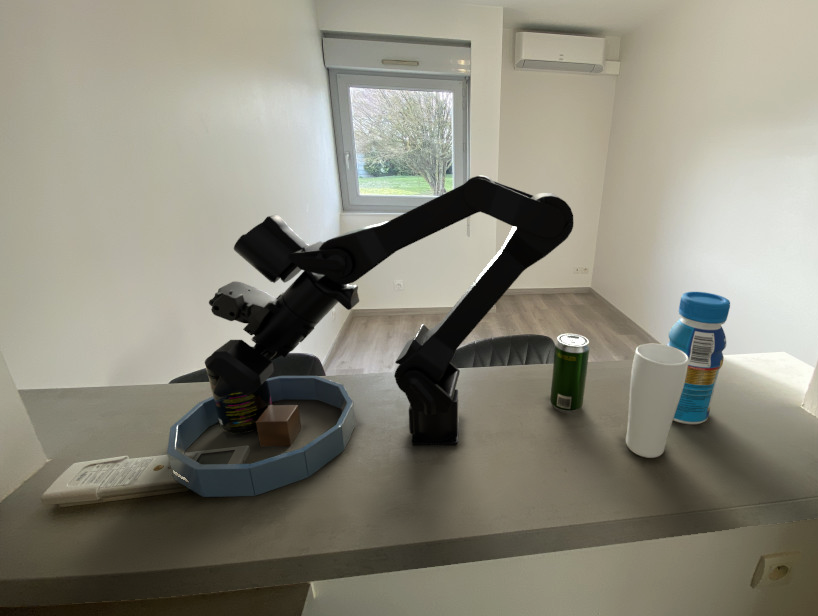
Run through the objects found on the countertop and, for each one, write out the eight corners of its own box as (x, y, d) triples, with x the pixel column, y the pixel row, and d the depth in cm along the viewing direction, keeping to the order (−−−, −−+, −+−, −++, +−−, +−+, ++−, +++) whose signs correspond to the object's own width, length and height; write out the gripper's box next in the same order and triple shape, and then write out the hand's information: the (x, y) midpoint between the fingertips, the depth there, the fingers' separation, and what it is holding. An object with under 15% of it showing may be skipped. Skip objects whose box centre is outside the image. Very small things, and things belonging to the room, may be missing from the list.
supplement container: (282, 421, 59) (270, 356, 56) (229, 442, 55) (212, 373, 51) (265, 403, 63) (252, 342, 60) (214, 421, 59) (198, 356, 55)
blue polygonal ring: (368, 396, 68) (366, 375, 67) (324, 494, 48) (320, 467, 47) (233, 397, 67) (229, 375, 65) (130, 498, 47) (120, 470, 45)
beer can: (582, 416, 65) (590, 348, 61) (548, 412, 66) (554, 344, 62) (582, 399, 70) (590, 335, 66) (551, 395, 71) (556, 331, 67)
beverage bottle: (643, 407, 69) (664, 294, 62) (671, 392, 73) (693, 286, 67) (691, 433, 62) (720, 310, 55) (718, 415, 67) (748, 300, 60)
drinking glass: (634, 427, 63) (649, 338, 58) (677, 448, 59) (698, 354, 54) (611, 446, 59) (625, 351, 54) (655, 470, 54) (676, 370, 49)
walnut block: (301, 428, 60) (298, 404, 58) (290, 446, 56) (286, 421, 55) (273, 428, 59) (268, 405, 58) (260, 446, 56) (255, 421, 54)
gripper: (281, 249, 60) (218, 319, 63) (205, 284, 43) (123, 378, 46) (342, 300, 64) (279, 364, 66) (294, 351, 46) (211, 435, 49)
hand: (231, 381), depth 57 cm, fingers closed on supplement container, 7 cm apart
